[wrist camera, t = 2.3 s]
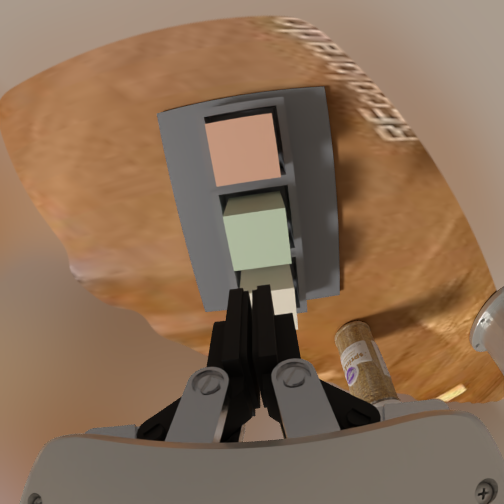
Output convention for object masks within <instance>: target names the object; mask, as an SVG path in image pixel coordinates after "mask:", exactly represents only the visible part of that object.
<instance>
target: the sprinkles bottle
mask: <svg viewBox="0 0 504 504" xmlns="http://www.w3.org/2000/svg"><path fill="white" fill-rule="evenodd" d="M335 344H336V346H337V347H338V351H339V354H340V357H341V363H342V367H343V370H344V374H345V377H346V380H347V382H348V385H349V389H350V393H351V395H353V396H355V397H358V398H360V399H362V400H364V401H366V402H368V403H370V404H372V405H374V406H375V407H383V406H384V404H391V403H402V402H401V401H400V399H399V398H398V397H397V394H396V392H395V389H394V386H393V383H392V380H391V376H390V374H389V372H388V369H387V367H386V364H385V362H384V360H383V357H382V355H381V353H380V351H379V348H378V346H377V344H376V343H375V341H374V339H373V336H372V334H371V330H370V327H369V326H368V325H367V324H366V323H364V322H362V321H354V322H350V323H347V324H345V325H344V326H342V327H341V328H340V329H339V330H338V331H337V333H336V334H335Z"/></svg>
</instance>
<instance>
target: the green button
mask: <svg viewBox="0 0 504 504" xmlns="http://www.w3.org/2000/svg"><path fill="white" fill-rule="evenodd" d="M223 221H224V226H225V230H226V235H227V240H228V245H229V250H230V255H231V259H232V264H233V269H234V271H239V270H247V269H254V268H262V267H269V266H277V265H284V264H292V263H291V253H290V244H289V236H288V227H287V219H286V211H285V206H284V203H283V199H282V196H281V193H280V191H275V192H268V193H261V194H254V195H247V196H240V197H234V198H229V199H228V202H227V205H226V208H225V211H224V214H223Z"/></svg>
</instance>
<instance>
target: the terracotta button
mask: <svg viewBox="0 0 504 504" xmlns="http://www.w3.org/2000/svg"><path fill="white" fill-rule="evenodd" d="M205 128H206V134H207V139H208V144H209V150H210V155H211V160H212V165H213V171H214V176H215V181H216V186H217V187H219V186H225V185H231V184H237V183H244V182H250V181H257V180H264V179H271V178H278V177H281V173H280V166H279V159H278V152H277V145H276V138H275V132H274V125H273V119H272V113H269V114H261V115H254V116H248V117H241V118H235V119H229V120H224V121H218V122H213V123H208V124H205Z"/></svg>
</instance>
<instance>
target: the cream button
mask: <svg viewBox="0 0 504 504" xmlns="http://www.w3.org/2000/svg"><path fill="white" fill-rule="evenodd" d="M268 284H270V287H271V294H272V301H273V307H274V314H275V315H279V314H287V313H293V318H294V323H295V329H298V324H297V313H296V302H295V291H294V284H293V280H292V275H291V270H290V265H289V264H284V265H277V266H269V267H262V268H254V269H247V270H241V280H240V288H243V290H244V291H249V295H250V300H251V306H252V290H257V286H260V285H268Z"/></svg>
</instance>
